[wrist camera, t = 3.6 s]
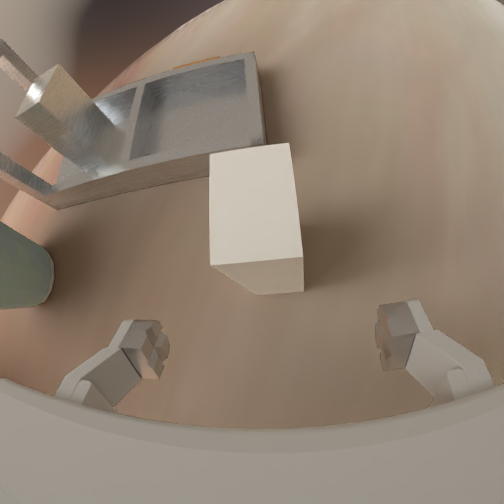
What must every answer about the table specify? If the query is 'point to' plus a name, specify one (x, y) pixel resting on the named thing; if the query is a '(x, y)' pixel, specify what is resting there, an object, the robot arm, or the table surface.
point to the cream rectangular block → (256, 219)
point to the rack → (135, 126)
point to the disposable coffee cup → (23, 271)
